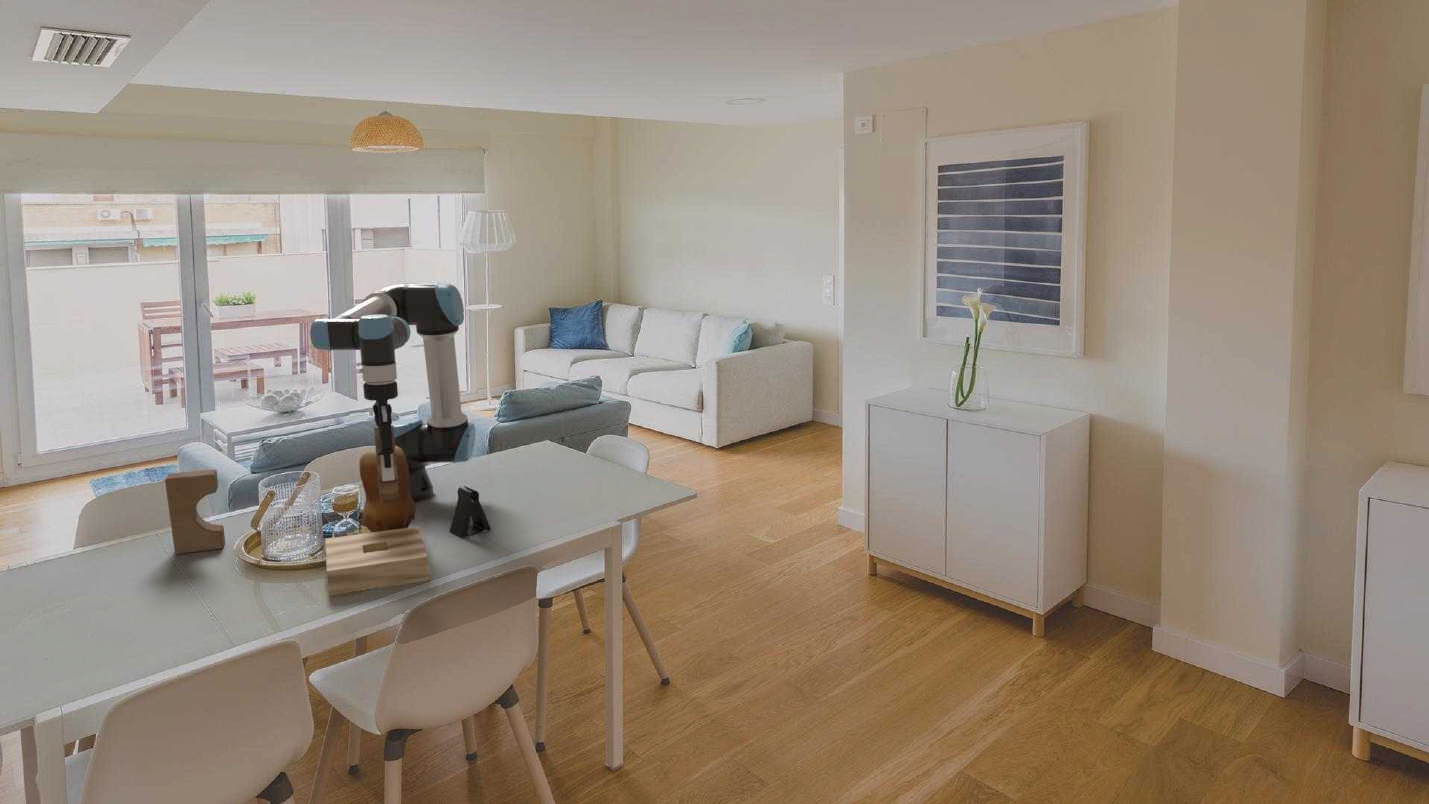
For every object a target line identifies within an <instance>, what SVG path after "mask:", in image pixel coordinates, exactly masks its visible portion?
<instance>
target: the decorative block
mask: <svg viewBox="0 0 1429 804" xmlns="http://www.w3.org/2000/svg"><path fill="white" fill-rule="evenodd" d="M164 482H165V489H166V491H165V492H166V499H167V504H168V505H167V506H168V511H169V520H170V527H171V534H172V541H173V542H172V543H173V550H174V554H175V555H184V554H183V553H185V554H192V552H193V553H200V552H199V551H201V552H207V551H214V550H216V549H217V550H223V548H224V546H225V544H226V537H225V530H224V529H225V528H224V526H223V524H214V523H210V522H208V521H206V520H205V519H203V517H201V516H200V515H199V512H198V509H197V506H198V505H197V504H199V502H200V501H201V500H203V499H204V498H205V497H206V496H208V495H209V496H210V495H213V494H215V493H216V492H217V491H218V488H219V480H218V471H217V469H215V468H214V469H206V470H205V469H204V470H203V469H202V470H196V471H194V470H193V471H183V472H173V473H168V474H167V476H166V477H165V480H164ZM217 550H216V551H217Z"/></svg>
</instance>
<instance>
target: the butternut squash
mask: <svg viewBox="0 0 1429 804" xmlns="http://www.w3.org/2000/svg"><path fill="white" fill-rule="evenodd" d="M395 451H396V464H397V477H398V490H399V500H398V501H395V502H389V503H384V502H380V496H379V483H378V471H377V459H376V447H374V448H371V449H369V450H367V451H365V452H363V453H362V454H361V455H360V458H359V467H358V469H359V474H360V475H359V476H360V480H361V483H362V486H363V489H364V494H365V501H364V505H363V510H362V521H363V523H364V526H365V527H366V529H368V531H370V533H372V532H379V531H387V530H395V529H402V528H409V527H410V526H411V523H412V521H413V520H415V518H416V512H417V511H416V510H417V509H416V505H415V502H414V501H413V499H412V498H411V495H410V488H409V483H410V476H409V470H408V463H407V460H406V456H405V454H404V452H403V450H402V449H401V448H400V447H398V446H395Z"/></svg>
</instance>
